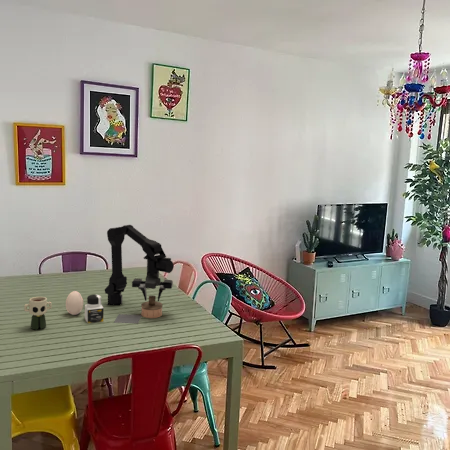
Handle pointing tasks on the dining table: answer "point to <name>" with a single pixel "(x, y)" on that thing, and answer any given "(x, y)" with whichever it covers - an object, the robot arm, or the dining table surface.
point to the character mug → (38, 311)
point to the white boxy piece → (94, 309)
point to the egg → (74, 303)
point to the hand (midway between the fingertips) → (152, 300)
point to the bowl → (151, 313)
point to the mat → (127, 318)
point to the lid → (151, 304)
